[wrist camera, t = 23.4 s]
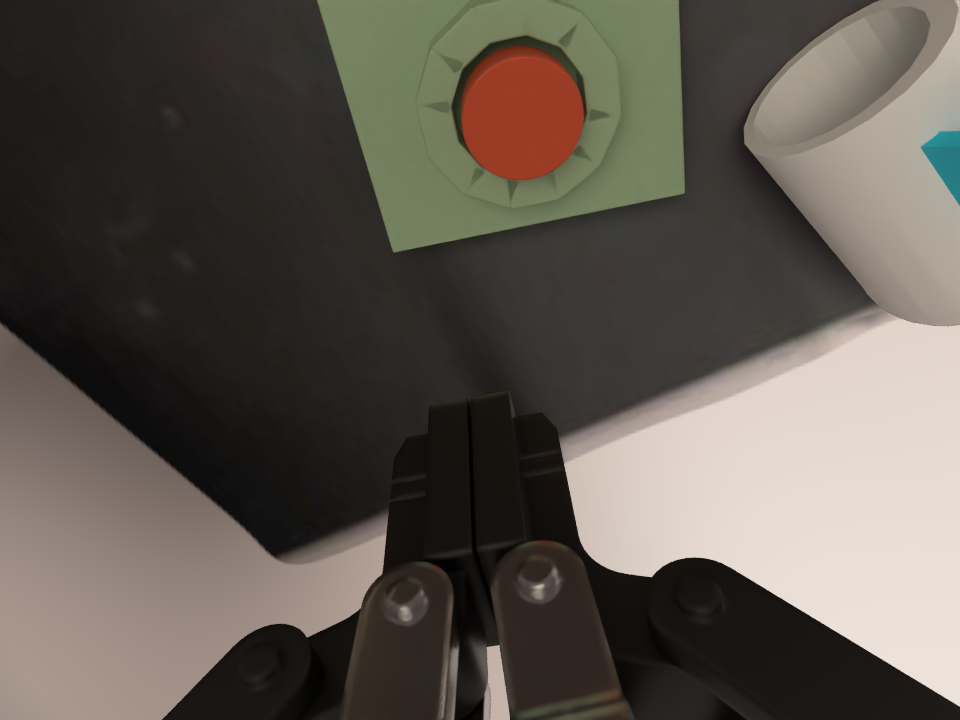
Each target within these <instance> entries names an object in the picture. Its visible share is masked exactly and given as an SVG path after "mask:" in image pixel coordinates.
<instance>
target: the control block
mask: <svg viewBox="0 0 960 720" xmlns="http://www.w3.org/2000/svg"><path fill="white" fill-rule="evenodd" d="M317 2H318V5H319V9H320V12H321V15H322V19H323V22H324V25H325V29H326V32H327V35H328V39H329V42H330V45H331V49H332V52H333V55H334V58H335V62H336V65H337V68H338V72H339V75H340V78H341V82H342V85H343V88H344V92H345V95H346V98H347V101H348V105H349V108H350V111H351V115H352V118H353V121H354V125H355V128H356V131H357V135H358V138H359V141H360V145H361V148H362V151H363V154H364V158H365V161H366V164H367V168H368V171H369V174H370V178H371V181H372V184H373V188H374V191H375V194H376V198H377V201H378V204H379V207H380V211H381V214H382V217H383V221H384V224H385V227H386V231H387V234H388V237H389V241H390V244H391V247H392V250H393V252H399V251H404V250H409V249H414V248H419V247H424V246H429V245H434V244H438V243H443V242H448V241H453V240H458V239H463V238H468V237H473V236H478V235H483V234H488V233H493V232H498V231H503V230H508V229H512V228H517V227H522V226H527V225H532V224H537V223H542V222H547V221H552V220H557V219H562V218H567V217H572V216H577V215H582V214H586V213H591V212H596V211H601V210H606V209H611V208H616V207H621V206H626V205H631V204H636V203H641V202H646V201H651V200H656V199H660V198H665V197H670V196H675V195H680V194H684V193H685V176H684V145H683V114H682V83H681V52H680V21H679V0H317ZM512 46H531V47H535V48H539V49H541V50H544V51H546V52H548V53H549V54H551V55H553V56H554V57H555V58H556V59H558V60H559V61H560V62H561V63H562V65H563V66H564V67H565V68H566V70H567V71H568V73H569V74H570V76H571V77H572V79H573V80H574V82H575V83H576V85H577V87H578V89H579V91H580V94H581V97H582V102H583V107H584V121H583V128H582V132H581V135H580V138H579V141H578V143H577V145H576V147H575V149H574V150H573V152H572V153H571V155H570V156H569V157H568V158H567V159H566V160H565V161H564V162H563V163H562V164H561V165H560V166H559V167H558V168H556V169H555V170H553V171H552V172H550V173H548V174H546V175H544V176H541V177H538V178H535V179H530V180H509V179H505V178H502V177H499V176H497V175H494V174H493V173H491V172H489V171H488V170H486V169H485V168H483V167H482V166H481V165H480V164H479V163H478V162H477V161H476V160H475V158H474V157H473V156H472V154H471V153H470V151H469V149H468V147H467V145H466V142H465V139H464V136H463V131H462V121H461V101H462V95H463V91H464V88H465V85H466V82H467V80H468V78H469V77H470V75H471V73H472V72H473V70H474V69H475V68H476V67H477V66H478V64H479V63H480V62H481V61H483V60H484V59H485V58H486V57H488V56H489V55H491V54H492V53H494V52H496V51H498V50H500V49H504V48H507V47H512Z"/></svg>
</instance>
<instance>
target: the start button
mask: <svg viewBox="0 0 960 720" xmlns="http://www.w3.org/2000/svg"><path fill="white" fill-rule="evenodd" d="M461 121H462V131H463V136H464V139H465V142H466V145H467V147H468V149H469V151H470V153H471V154H472V156H473V157H474V158H475V160H476V161H477V162H478V163H479V164H480V165H481V166H482V167H483V168H485V169H486V170H488V171H489V172H491V173H493V174H494V175H497V176H499V177H502V178H505V179H509V180H530V179H535V178H538V177H541V176H544V175H546V174H548V173H550V172H552V171H553V170H555V169H556V168H558V167H559V166H560V165H561V164H562V163H563V162H564V161H565V160H566V159H567V158H568V157H569V156H570V155H571V153H572V152H573V150H574V149H575V147H576V145H577V143H578V141H579V138H580V135H581V132H582V128H583V121H584V107H583V102H582V97H581V94H580V91H579V89H578V87H577V85H576V83H575V82H574V80H573V79H572V77H571V76H570V74H569V73H568V71H567V70H566V68H565V67H564V66H563V65H562V63H561V62H560V61H559V60H558V59H556V58H555V57H554V56H553V55H551V54H549V53H548V52H546V51H544V50H541V49H539V48H535V47H531V46H512V47H507V48H504V49H500V50H498V51H496V52H494V53H492V54H491V55H489V56H488V57H486V58H485V59H484V60H483V61H481V62H480V63H479V64H478V66H477V67H476V68H475V69H474V70H473V72H472V73H471V75H470V77H469V78H468V80H467V82H466V85H465V88H464V91H463V95H462V101H461Z"/></svg>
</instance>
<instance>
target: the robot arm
mask: <svg viewBox="0 0 960 720" xmlns="http://www.w3.org/2000/svg"><path fill="white" fill-rule="evenodd" d="M392 484H393V485H391V495H390V500H391V503H390V505H389V515H388V525H387V535H386V545H385V556H384V566H383V573H382V575H381V576H380V577H378V578H377V579H376V580H375V582H374V583H373V584H372V585H371V586H370V588H369V589H368V591H367V593H366V594H365V597H364V599H363V602H362V606H361V609H359V610H358V611H357V612H356V613H355V614H353V615H352V616H350V617H349V618H347V619H345V620H343V621H341V622H339V623H337V624H335V625H333V626H331V627H329V628H327V629H325V630H322V631H320V632H318V633H316V634H314V635H312V636H310V637H308V638H307V637H306V636H305V634H304V633H303V632H302V631H301V630H300V629H298V628H296V627H294V626H291V625H287V624H274V625H269V626H265V627H262V628H260V629H257V630H255V631H253V632H252V633H250V634H248V635H247V636H245V637H244V638H243V639H241V640H240V641H239V642H238V643H237V644H236V645H235V646H234V647H232V648H231V650H230V651H229V652H228V653H227V654H226V655H225V656H224V657H223V658H222V659H221V660H220V661H219V662H218V663H217V664H216V665H215V666H214V667H213V668H212V669H211V670H210V671H209V672H208V673H207V674H206V675H205V676H204V677H203V678H202V679H201V680H200V681H199V682H198V683H197V684H196V685H195V686H194V688H193V689H192V690H191V691H190V692H189V693H188V694H187V695H186V696H185V697H184V698H183V699H182V700H181V701H180V702H179V703H178V704H177V705H176V706H175V707H174V708H173V709H172V710H171V711H170V712H169V713H168V714H167V716H165V717H164V718H163V719H162V720H490V710H491V693H490V687H489V683H488V667H487V647H489V646H496V645H500V652H501V659H502V665H503V672H504V679H505V685H506V692H507V698H508V705H509V712H510V720H960V707H959V706H957V705H956V704H954V703H953V702H951V701H949V700H948V699H946V698H944V697H942V696H941V695H939V694H938V693H936V692H934V691H933V690H931V689H929V688H928V687H926V686H925V685H923V684H921V683H920V682H918V681H916V680H915V679H913V678H911V677H910V676H908V675H906V674H905V673H903V672H901V671H900V670H898V669H896V668H895V667H893V666H892V665H890V664H888V663H887V662H885V661H883V660H882V659H880V658H878V657H877V656H875V655H873V654H872V653H870V652H868V651H867V650H865V649H864V648H862V647H860V646H858V645H857V644H855V643H854V642H852V641H850V640H849V639H847V638H845V637H844V636H842V635H840V634H839V633H837V632H835V631H834V630H832V629H830V628H829V627H827V626H825V625H824V624H822V623H821V622H819V621H817V620H816V619H814V618H812V617H811V616H809V615H807V614H806V613H804V612H802V611H801V610H799V609H797V608H796V607H794V606H793V605H791V604H789V603H788V602H786V601H784V600H783V599H781V598H779V597H777V596H776V595H774V594H773V593H771V592H769V591H768V590H766V589H765V588H763V587H761V586H760V585H758V584H756V583H755V582H753V581H751V580H750V579H748V578H746V577H745V576H743V575H741V574H740V573H738V572H736V571H735V570H733V569H732V568H730V567H728V566H726V565H724V564H722V563H719V562H717V561H714V560H710V559H705V558H685V559H680V560H676V561H673V562H671V563H669V564H667V565H665V566H663V567H662V568H661V569H660V570H658V571H657V572H656V573H655V574H654V575H653V577H645V576H637V575H629V574H624V573H619V572H615V571H612V570H610V569H607V568H605V567H603V566H601V565H600V564H598V563H597V562H596V561H594V560H593V559H592V558H591V557H590V556H589V555H588V554H587V552H586V551H585V550H584V548H583V546H582V544H581V542H580V539H579V536H578V531H577V526H576V521H575V516H574V511H573V506H572V502H571V496H570V491H569V486H568V481H567V476H566V472H565V467H564V462H563V457H562V452H561V447H560V442H559V437H558V432H557V428H556V427H555V426H554V425H553V424H552V423H551V422H550V421H549V420H548V419H547V418H546V416H545V415H544V414H543V413H542V412H541V413H535V414H530V415H525V416H519V417H516V416H515V412H514V408H513V404H512V399H511V395H510V392H509V391H504V392H498V393H493V394H488V395H483V396H477V397H472V398H471V400H470V401H469V399H462V400H457V401H452V402H447V403H441V404H436V405H431V406H430V407H429V421H428V434H424V435H418V436H413V437H408V438H406V440H405V442H404V443H403V445H402V447H401V448H400V450H399V452H398V453H397V455H396V457H395V458H394V465H393V475H392Z"/></svg>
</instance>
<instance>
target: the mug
mask: <svg viewBox="0 0 960 720" xmlns="http://www.w3.org/2000/svg"><path fill="white" fill-rule="evenodd" d="M744 144H745V145H746V146H747V147H748V149H749V150H750V151H751V152H752V153H753V155H754V156H755V157H756V158H757V160H758V161H759V162H760V163H761V164H762V166H763V167H764V168H765V169H766V170H767V172H768V173H769V174H770V175H771V177H772V178H773V179H774V180H775V181H776V183H777V184H778V185H779V186H780V187H781V189H782V190H783V191H784V192H785V194H786V195H787V196H788V197H789V198H790V200H791V201H792V202H793V203H794V204H795V206H796V207H797V208H798V209H799V211H800V212H801V213H802V214H803V215H804V217H805V218H806V219H807V220H808V222H809V223H810V224H811V225H812V226H813V228H814V229H815V230H816V231H817V232H818V234H819V235H820V236H821V237H822V239H823V240H824V241H825V242H826V243H827V245H828V246H829V247H830V248H831V249H832V251H833V252H834V253H835V254H836V256H837V257H838V258H839V259H840V260H841V262H842V263H843V264H844V265H845V266H846V268H847V269H848V270H849V271H850V273H851V274H852V275H853V276H854V277H855V279H856V280H857V281H858V282H859V283H860V285H861V286H862V287H863V288H864V290H865V292H866V293H867V294H868V296H869V297H870V298H871V299H872V300H873V301H874V302H875V303H877V304H878V305H879V306H880V307H881V308H882V309H884V310H886V311H887V312H889V313H891V314H893V315H895V316H897V317H899V318H901V319H904V320H907V321H910V322H914V323H919V324H926V325H932V326H954V325H960V0H879V1H877V2H874V3H872V4H870V5H869V6H867V7H865V8H863V9H861V10H859V11H857V12H855V13H854V14H852V15H850V16H848V17H846V18H844V19H843V20H841V21H840V22H838V23H837V24H835V25H834V26H832V27H831V28H830V29H828V30H827V31H825V32H824V33H822V34H821V35H820V36H818V37H817V38H815V39H814V40H813V41H811V42H810V43H809V44H808V45H807V46H806V47H804V48H803V49H802V50H801V51H800V52H799V53H798V54H796V55H795V56H794V57H793V58H792V59H791V60H789V61H788V62H787V63H786V64H785V65H784V67H783V68H782V69H781V70H780V71H779V72H778V73H777V74H776V75H775V76H774V78H773V79H772V80H771V81H770V82H769V83H768V84H767V85H766V87H765V88H764V90H763V91H762V93H761V94H760V96H759V97H758V99H757V100H756V102H755V103H754V105H753V106H752V108H751V110H750V113H749V115H748V118H747V121H746V123H745V126H744Z"/></svg>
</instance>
